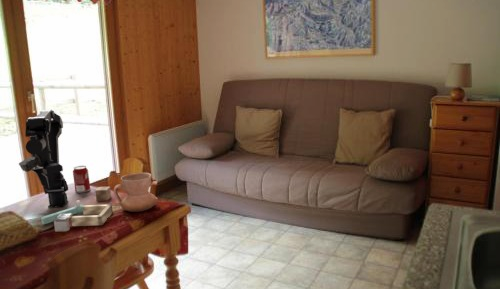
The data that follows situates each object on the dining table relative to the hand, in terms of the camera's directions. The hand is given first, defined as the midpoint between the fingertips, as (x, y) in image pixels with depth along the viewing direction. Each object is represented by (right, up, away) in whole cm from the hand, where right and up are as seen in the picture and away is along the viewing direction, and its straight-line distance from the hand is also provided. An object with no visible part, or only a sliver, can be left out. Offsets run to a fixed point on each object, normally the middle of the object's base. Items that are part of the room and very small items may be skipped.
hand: (47, 186), depth 168 cm
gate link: (+6, -12, +1) cm, 14 cm away
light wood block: (+15, -8, +23) cm, 28 cm away
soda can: (+1, -6, +34) cm, 35 cm away
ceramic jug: (+34, -10, +9) cm, 37 cm away
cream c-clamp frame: (+18, -13, -1) cm, 22 cm away
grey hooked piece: (+11, -13, -1) cm, 17 cm away
